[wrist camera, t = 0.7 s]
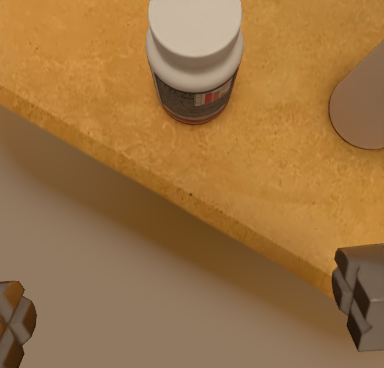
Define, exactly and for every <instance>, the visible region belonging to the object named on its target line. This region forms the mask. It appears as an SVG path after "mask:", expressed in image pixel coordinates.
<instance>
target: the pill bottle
mask: <svg viewBox="0 0 384 368" xmlns="http://www.w3.org/2000/svg"><path fill="white" fill-rule="evenodd" d="M148 19H149V28H148V31H147V36H146V52H147V58H148V62H149V66H150V69H151V72H152V76H153V80H154V84H155V88H156V91H157V95H158V98H159V100H160V103H161V105H162V106H163V108H164V109H165V110H166V112H167V113H168V114H169V115H171V116H172V117H173V118H175V119H177V120H179V121H181V122H185V123H190V124H198V123H203V122H207V121H209V120H211V119H213V118H215V117H216V116H217V115H219V114H220V113H221V112H222V111H223V109H224V108H225V106H226V105H227V103H228V101H229V98H230V95H231V92H232V88H233V85H234V81H235V78H236V75H237V71H238V69H239V65H240V62H241V58H242V52H243V36H242V31H241V28H240V26H241V21H242V6H241V2H240V0H150V3H149V9H148Z"/></svg>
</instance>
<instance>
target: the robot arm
mask: <svg viewBox="0 0 384 368" xmlns="http://www.w3.org/2000/svg"><path fill="white" fill-rule="evenodd" d="M335 261H336V264H337V266H338V267H337V268H336V269H335V270H334V271H333V273H332V288H333V294H334V297H335V300H336V303H337V305H338V307H339V310H341V311H342V312H344V313H345V314H346V315H347V316H348V322H347V327H348V330H349V332H350V334H351V336H352V339H353V341H354V343H355V346H356V348H357V350H358V352H363V351H382V350H384V243H381V244H371V245H362V246H353V247H343V248H338V249H337V251H336V253H335ZM24 290H25V289H24V288H23V286H22V285H21V283H20V282H19V281H5V282H0V368H19V365H20V363H21V361H22V358H23V356H24V351H23V347H22V345H23V344H25V343H26V342H27V341H28V340H29V339H30V338H31V337H32V334H33V332H34V329H35V326H36V317H37V314H36V310H35V306H34V304H33V303H32V301H31V300H29V299H27V298H25V297H24V296H22V295H23V293H24Z"/></svg>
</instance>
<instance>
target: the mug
mask: <svg viewBox="0 0 384 368" xmlns="http://www.w3.org/2000/svg"><path fill="white" fill-rule="evenodd" d="M329 112H330V118H331V121H332V124H333V126H334V128H335V129H336V131H337V132H338V133H339V135H340V136H341V137H342V138H343V139H345V140H346V141H347V142H349V143H350V144H352V145H354V146H357V147H360V148H364V149H379V148H384V39H383V40H382V41H381V42H380V43H379V44H378V45H377V46H376V47H375V48H374V49H373V50H372V51H371V52H370V53H369V54H368V55H367V56H366V57H365V58H364V59H363V60H362V61H361V62H360V63H359V64H358V65H357V66H356V67H355V68H354V69H353V70H352V71H351V72H350V73H349V74H348V75H347V76H346V77H345V78H344V79H343V80H342V81H341V82H340V83H339V84H338V85H337V86H336V88H335V89H334V91H333V93H332V96H331V99H330V105H329Z"/></svg>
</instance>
